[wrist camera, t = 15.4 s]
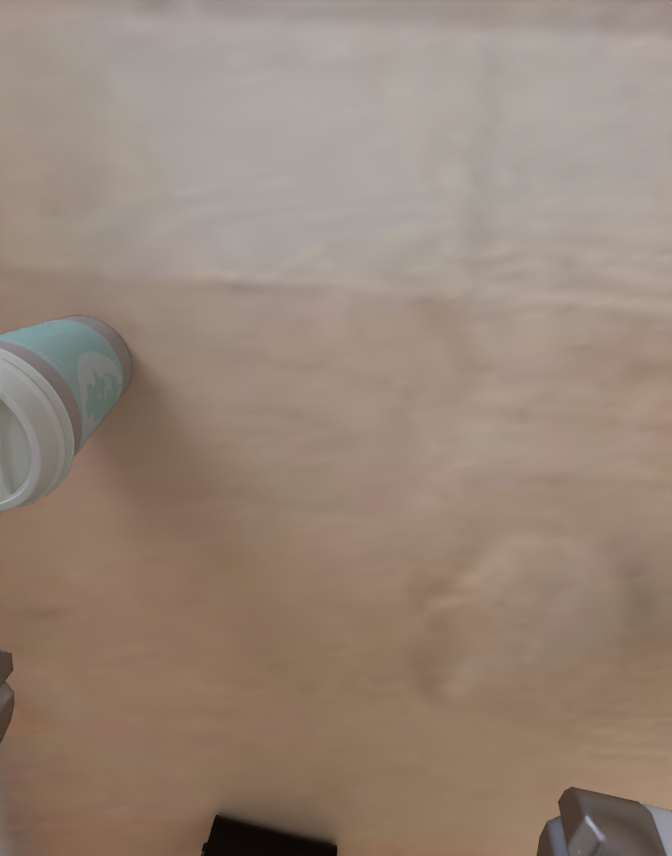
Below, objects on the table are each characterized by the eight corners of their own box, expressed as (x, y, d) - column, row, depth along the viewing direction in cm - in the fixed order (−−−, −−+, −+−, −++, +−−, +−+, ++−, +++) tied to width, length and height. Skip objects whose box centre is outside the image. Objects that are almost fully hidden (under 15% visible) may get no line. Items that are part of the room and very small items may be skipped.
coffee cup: (112, 446, 42) (5, 554, 31) (0, 367, 40) (-154, 450, 29) (179, 353, 38) (86, 437, 27) (60, 262, 37) (-89, 312, 26)
